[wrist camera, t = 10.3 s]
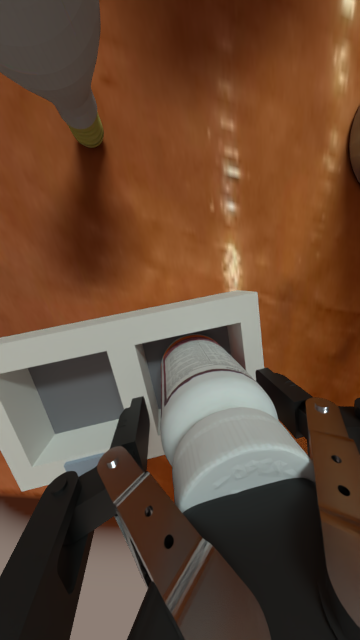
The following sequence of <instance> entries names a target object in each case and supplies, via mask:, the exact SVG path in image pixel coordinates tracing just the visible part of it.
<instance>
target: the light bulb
mask: <svg viewBox="0 0 360 640" xmlns="http://www.w3.org/2000/svg"><path fill="white" fill-rule="evenodd" d="M99 39H100V8H99V0H0V72H1V73H2V74H4V75H5V76H7V77H8V78H10V79H11V80H13V81H14V82H16V83H17V84H19V85H21V86H22V87H24V88H25V89H27V90H29V91H31V92H33V93H35V94H37V95H39V96H41V97H43V98H45V99H47V100H48V101H50V102H52V103H53V104H54V105H55V107H56V108H57V110H58V112H59V114H60V115H61V117H62V119H63V120H64V121H65V122H66V123H67V125H68V126H69V128H70V130H71V131H72V133H73V135H74V137H75V138H76V139H77V141H78V142H79V143H81V144H82V145H84V146H86V147H89V148H94V147H97V146H99V145H100V144H101V142H102V141H103V137H104V131H103V127H102V123H101V120H100V118H99V115H98V112H97V105H96V101H95V98H94V96H93V93H92V90H91V81H92V76H93V72H94V68H95V64H96V59H97V54H98V46H99Z"/></svg>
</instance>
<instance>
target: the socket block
mask: <svg viewBox="0 0 360 640" xmlns="http://www.w3.org/2000/svg"><path fill="white" fill-rule="evenodd" d="M190 334H200V335H205V336H208V337H210V338H212V339H213V340H215V341H216V342H217V343H218V344H219V345H220V346H221V347H222V348H223V349H224V350H225V351H226V352H227V353H228V354H230V355H231V356H232V357H233V358H234V359H235V360H236V361H237V362H238V363H239V364H240V365H241V366H242V367H243V368H244V369H245V370H246V371H247V372H248V374H249V375H250V376H251V377H252V378H253V379H254V380H255V381H256V374H255V372H256V370H258V369H263V368H264V362H263V351H262V340H261V328H260V317H259V306H258V295H257V292H251V291H239V290H236V291H231V292H226V293H221V294H216V295H211V296H206V297H201V298H196V299H191V300H186V301H181V302H176V303H171V304H166V305H161V306H156V307H151V308H146V309H141V310H136V311H131V312H127V313H122V314H117V315H112V316H107V317H102V318H97V319H92V320H87V321H82V322H77V323H72V324H67V325H62V326H57V327H52V328H47V329H42V330H37V331H32V332H27V333H22V334H17V335H12V336H7V337H2V338H0V450H1V452H2V454H3V456H4V458H5V460H6V462H7V464H8V466H9V468H10V470H11V472H12V474H13V476H14V478H15V479H16V481H17V483H18V485H19V487H20V489H21V491H26V490H30V489H34V488H38V487H41V486H45V485H49V484H50V483H51V482H52V481H53V480H54V479H55V478H57V477H58V476H59V475H61V474H63V473H65V472H68V471H75V472H76V473H77V474H78V477H79V476H81V475H82V474H84V473H86V472H88V471H90V470H92V469H93V468H95V467H96V466H97V465H98V462H99V460H100V458H101V457H102V456H103V455H104V453H106V452H107V451H108V450H109V449H110V446H111V443H112V440H113V437H114V433H115V430H116V427H117V424H118V420H119V417H120V415H121V413H122V412H123V411H124V409H125V408H129V407H130V405H131V401H132V399H133V398H137V397H142V396H144V399H145V402H146V406H147V410H148V414H149V419H150V431H149V444H148V457H147V459H150V458H154V457H158V456H162V455H165V453H164V450H163V447H162V442H161V431H160V423H161V361H162V358H163V355H164V353H165V351H166V349H167V348H168V347H169V345H170V344H171V343H173V342H174V341H175V340H177V339H178V338H180V337H183V336H185V335H190Z"/></svg>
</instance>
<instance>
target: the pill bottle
mask: <svg viewBox="0 0 360 640" xmlns="http://www.w3.org/2000/svg"><path fill="white" fill-rule="evenodd" d="M160 431H161V442H162V447H163V450H164V453H165V455H166V458H167V459H168V461H169V463H170V464H171V466H172V475H173V485H174V499H175V505H176V506H177V507H178V508H179V510H180V511H181V512H182V513H183V512H184V511H186V510H187V509H189V508H191V507H193V506H195V505H197V504H200V503H203V502H206V501H209V500H212V499H215V498H219V497H222V496H226V495H229V494H234V493H238V492H241V491H243V490H247V489H251V488H254V487H258V486H261V485H265V484H269V483H273V482H277V481H280V480H285V479H291V478H306V479H309V480H311V481H313V482H314V474H313V462H312V460H311V459H310V458H309V456H308V455H307V454H306V453H305V452H304V450H303V449H302V448H301V447H300V446H299V445H298V443H297V442H296V441H295V440H294V439H293V438H292V436H291V435H290V434H289V432H288V431H287V430H286V429H285V428H284V426H283V425H282V424H281V423H280V422H279V421H278V416H277V412H276V409H275V407H274V404H273V402H272V401H271V399H270V397H269V396H268V395H267V393H266V392H265V391H264V390H263V388H262V387H261V386H260V385H259V384H258V383H257V382H256V381H255V380H254V379H253V378H252V377H251V376H250V375H249V374H248V372H247V371H246V370H245V369H244V368H243V367H242V366H241V365H240V364H239V363H238V362H237V361H236V360H235V359H234V358H233V357H232V356H231V355H230V354H228V353H227V352H226V351H225V350H224V349H223V348H222V347H221V346H220V345H219V344H218V343H217V342H216V341H215V340H213V339H212V338H210V337H208V336H205V335H200V334H190V335H185V336H183V337H180V338H178V339H177V340H175V341H174V342H173V343H171V344H170V345H169V347H168V348H167V349H166V351H165V353H164V355H163V358H162V361H161V423H160Z"/></svg>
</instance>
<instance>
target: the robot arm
mask: <svg viewBox="0 0 360 640" xmlns="http://www.w3.org/2000/svg"><path fill="white" fill-rule="evenodd" d="M349 146H350V160H351V164H352V168H353V171H354V173H355V175H356V178H357V180H358V181H359V183H360V106H359V109H358V111H357V113H356V115H355V118H354V122H353V125H352V129H351V135H350V145H349ZM255 374H256V382H257V383H258V384H259V385H260V386H261V387H262V388H263V390H264V391H265V392H266V393H267V395H268V396H269V397H270V399H271V401H272V402H273V404H274V407H275V409H276V412H277V416H278V419H279V420H280V421H281V422H282V423H283V424H284V425H285V426H286V428H287V429H288V430H289V431H290V432H291V433H292V434H293V436H294V437H295V438H296V439H297V438H300V437H305V438H306V439H307V450H308V456H309V458H310V459H311V460H312V462H313V474H314V482H313V481H311V480H309V479H306V478H291V479H285V480H280V481H277V482H273V483H269V484H265V485H261V486H258V487H254V488H251V489H247V490H243V491H241V492H238V493H234V494H229V495H226V496H222V497H219V498H215V499H212V500H209V501H206V502H203V503H200V504H197V505H195V506H193V507H191V508H189V509H187V510H186V511H184V512H183V513H182V512H181V511H180V510H179V508H178V507H177V506H176V505H175V504H174V502H173V501H172V500H171V499H170V497H169V496H168V495H167V494H166V492H165V491H164V490H163V489H162V488H161V486H160V485H159V484H158V483H157V481H156V480H155V479H154V478H153V476H152V475H151V474H150V473H149V472H148V471H146V470H147V457H148V444H149V431H150V419H149V414H148V410H147V406H146V402H145V399H144V396H142V397H137V398H133V399H132V401H131V405H130V407H129V408H125V409H124V411H123V412H122V413H121V415H120V417H119V420H118V424H117V427H116V430H115V433H114V437H113V440H112V443H111V446H110V449H109V450H108V451H107V452H106V453H104V455H103V456H102V457H101V458H100V460H99V462H98V465H97V466H96V467H95V468H93V469H92V470H90V471H88V472H86V473H84V474H82V475H81V476H79V477H78V474H77V473H76V472H75V471H68V472H65V473H63V474H61V475H59V476H58V477H57V478H55V479H54V480H53V481H52V482H51V483H50V484H49V485H48V487H47V488H46V489H45V491H44V493H43V495H42V497H41V498H40V500H39V502H38V504H37V506H36V508H35V510H34V512H33V514H32V516H31V518H30V520H29V522H28V524H27V526H26V528H25V530H24V532H23V533H22V535H21V537H20V539H19V541H18V543H17V545H16V547H15V549H14V551H13V553H12V555H11V557H10V559H9V561H8V563H7V564H6V567H5V568H4V570H3V572H2V574H1V576H0V640H69V639H70V635H71V631H72V626H73V622H74V617H75V613H76V609H77V604H78V600H79V595H80V591H81V586H82V582H83V578H84V573H85V569H86V565H87V560H88V555H89V551H90V547H91V542H92V538H93V534H94V529H95V528H97V527H98V526H100V525H101V524H103V523H104V522H106V521H107V520H109V519H110V518H112V517H113V516H114V517H115V518H116V521H117V523H118V525H119V527H120V529H121V531H122V533H123V535H124V538H125V540H126V542H127V544H128V546H129V549H130V551H131V552H132V555H133V557H134V560H135V562H136V565H137V567H138V569H139V571H140V574H141V576H142V578H143V581H144V583H145V585H146V587H147V589H148V590H147V592H146V595H145V597H144V600H143V602H142V604H141V607H140V609H139V612H138V614H137V617H136V619H135V622H134V624H133V627H132V629H131V631H130V634H129V636H128V639H127V640H360V398H357V399H356V400H355V404H354V407H343V406H337V405H336V404H334V403H333V402H331V401H329V400H326V399H323V398H316V397H312V396H311V395H310V394H308V393H307V392H306V391H304V390H303V389H301V388H300V387H299V386H297V385H296V384H295V383H293V382H292V381H291V380H289V379H288V378H287V377H285V376H283V375H281V374H278V373H273V372H272V371H271V370H270V369H268V368H263V369H258V370H256V372H255Z"/></svg>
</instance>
